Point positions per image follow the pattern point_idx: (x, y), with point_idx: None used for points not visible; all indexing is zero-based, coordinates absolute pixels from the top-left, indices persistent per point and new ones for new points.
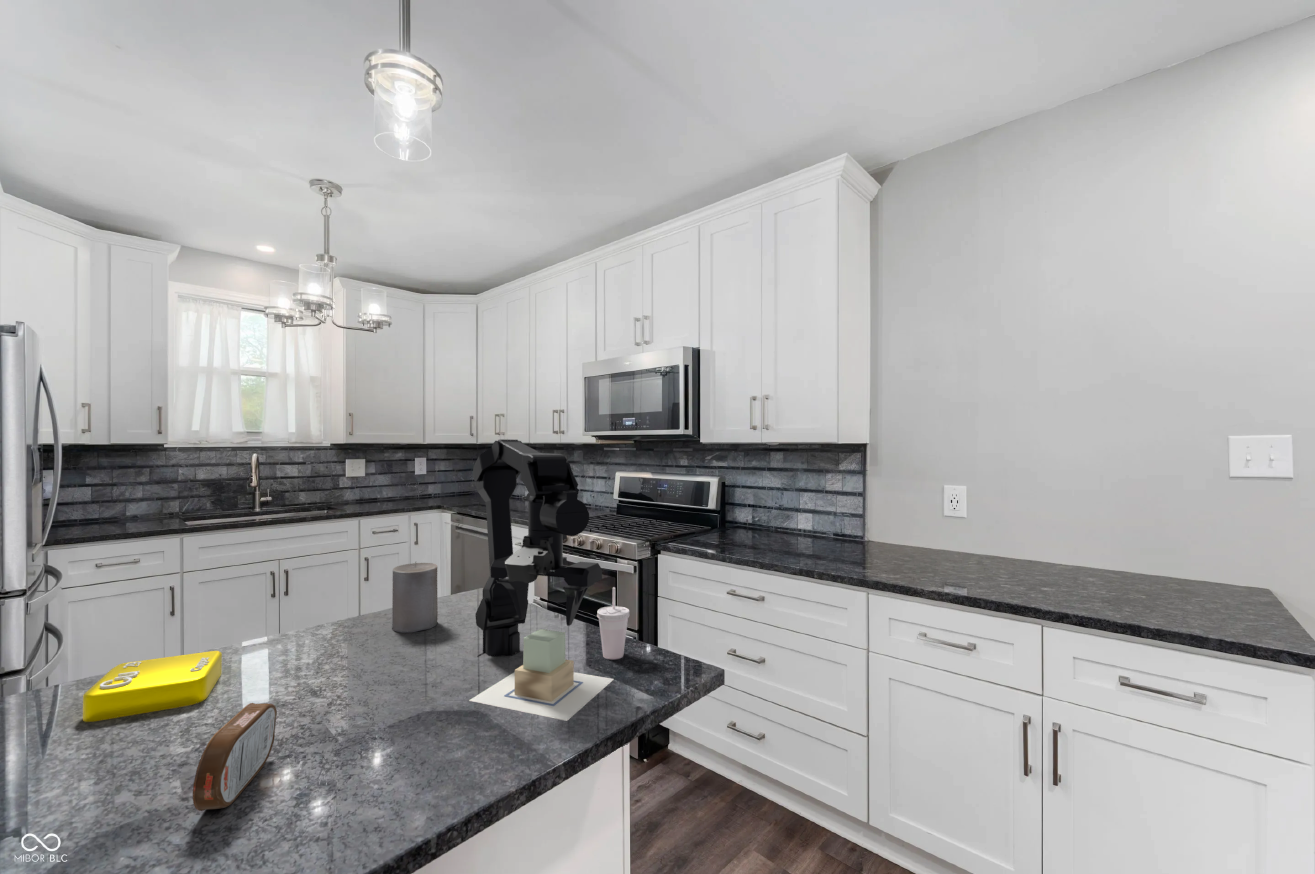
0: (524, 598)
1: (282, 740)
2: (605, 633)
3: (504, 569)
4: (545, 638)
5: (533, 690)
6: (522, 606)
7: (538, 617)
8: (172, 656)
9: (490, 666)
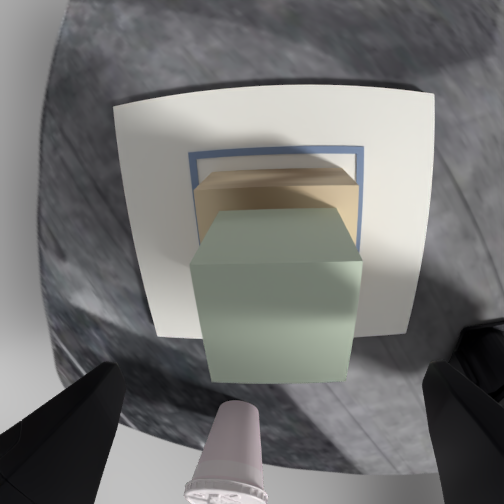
0: (456, 476)
1: None
2: (232, 452)
3: None
4: (243, 297)
5: (273, 172)
6: (451, 427)
7: None
8: None
9: (483, 304)
